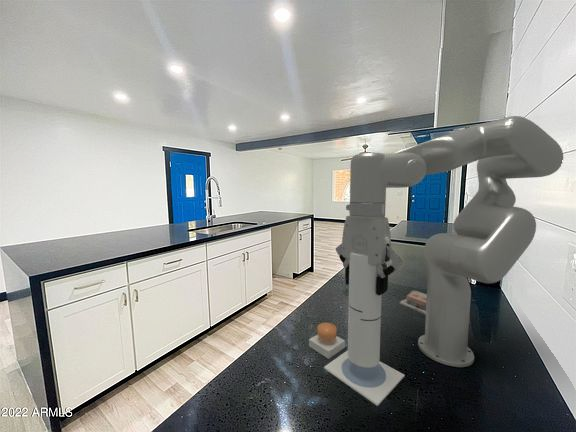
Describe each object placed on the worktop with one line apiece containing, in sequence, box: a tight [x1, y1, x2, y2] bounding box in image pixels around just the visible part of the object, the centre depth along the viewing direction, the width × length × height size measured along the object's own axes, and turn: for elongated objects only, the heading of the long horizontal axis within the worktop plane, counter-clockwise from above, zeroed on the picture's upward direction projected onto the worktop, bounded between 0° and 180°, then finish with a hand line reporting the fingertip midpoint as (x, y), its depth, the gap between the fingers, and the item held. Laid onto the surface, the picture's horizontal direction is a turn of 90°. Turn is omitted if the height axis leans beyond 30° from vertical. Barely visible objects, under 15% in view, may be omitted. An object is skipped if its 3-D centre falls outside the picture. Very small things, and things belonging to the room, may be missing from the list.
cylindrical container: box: [347, 253, 383, 367], centre depth 57 cm, size 7×7×25 cm
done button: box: [316, 322, 338, 340], centre depth 67 cm, size 5×5×2 cm
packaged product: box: [398, 290, 427, 316], centre depth 88 cm, size 18×5×10 cm
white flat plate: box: [323, 349, 405, 407], centre depth 58 cm, size 12×14×1 cm
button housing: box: [308, 333, 346, 360], centre depth 68 cm, size 7×7×2 cm
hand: (365, 287), depth 56 cm, fingers closed on cylindrical container, 7 cm apart
